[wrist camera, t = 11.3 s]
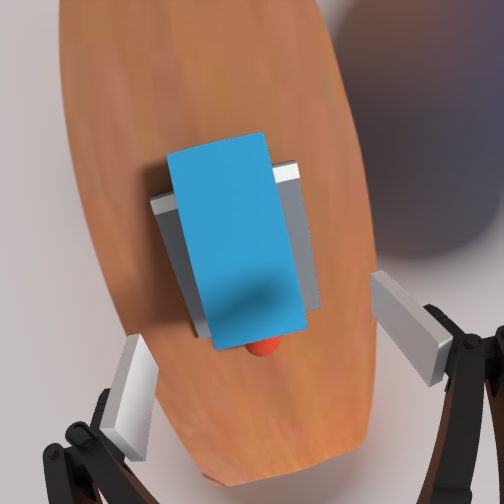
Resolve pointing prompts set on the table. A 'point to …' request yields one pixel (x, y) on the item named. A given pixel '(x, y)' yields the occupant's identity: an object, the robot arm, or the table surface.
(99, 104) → the table surface
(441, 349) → the robot arm
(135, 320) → the table surface
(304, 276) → the mat
